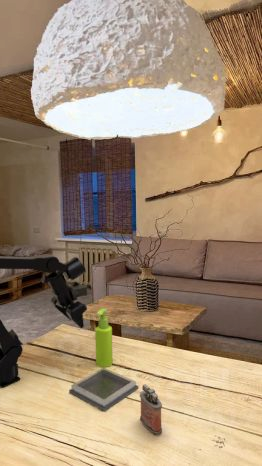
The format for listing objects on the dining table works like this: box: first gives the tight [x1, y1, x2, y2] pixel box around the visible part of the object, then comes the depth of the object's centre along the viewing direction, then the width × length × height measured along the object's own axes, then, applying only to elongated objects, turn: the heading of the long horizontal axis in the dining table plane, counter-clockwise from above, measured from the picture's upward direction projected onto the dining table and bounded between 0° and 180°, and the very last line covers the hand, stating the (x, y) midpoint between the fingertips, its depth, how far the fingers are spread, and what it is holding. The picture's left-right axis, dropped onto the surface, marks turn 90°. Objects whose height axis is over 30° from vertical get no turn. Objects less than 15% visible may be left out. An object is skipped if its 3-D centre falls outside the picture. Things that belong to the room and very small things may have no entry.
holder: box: [69, 367, 139, 413], centre depth 106 cm, size 15×15×2 cm
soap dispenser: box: [94, 307, 114, 368], centre depth 122 cm, size 6×7×20 cm
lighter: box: [139, 383, 163, 436], centre depth 89 cm, size 8×3×10 cm, turn 30°
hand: (76, 323), depth 125 cm, fingers open, 9 cm apart
